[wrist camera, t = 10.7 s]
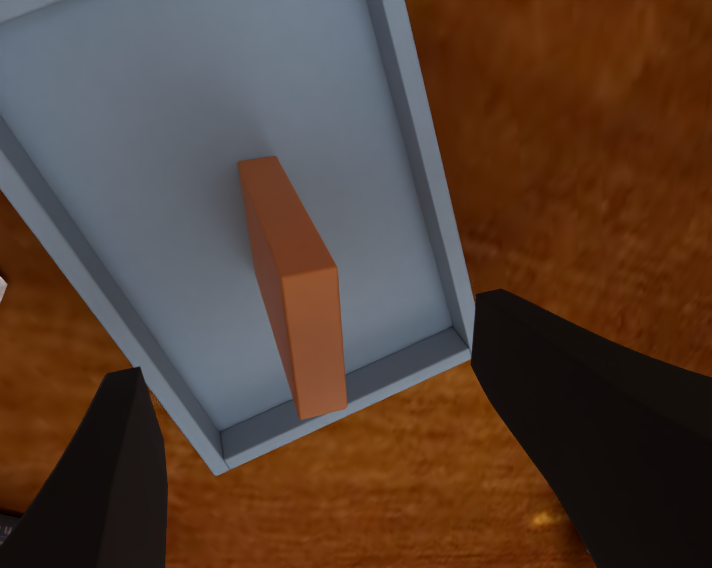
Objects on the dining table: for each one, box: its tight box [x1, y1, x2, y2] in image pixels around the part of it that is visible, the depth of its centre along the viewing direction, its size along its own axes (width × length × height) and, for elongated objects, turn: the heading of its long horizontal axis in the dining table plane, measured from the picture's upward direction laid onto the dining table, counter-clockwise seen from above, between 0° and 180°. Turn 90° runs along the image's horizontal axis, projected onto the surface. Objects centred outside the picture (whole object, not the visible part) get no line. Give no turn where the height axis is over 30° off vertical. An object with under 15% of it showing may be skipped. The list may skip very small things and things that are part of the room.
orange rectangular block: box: [237, 156, 347, 420], centre depth 16 cm, size 1×4×7 cm, turn 3°
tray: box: [0, 0, 475, 476], centre depth 18 cm, size 11×16×2 cm
